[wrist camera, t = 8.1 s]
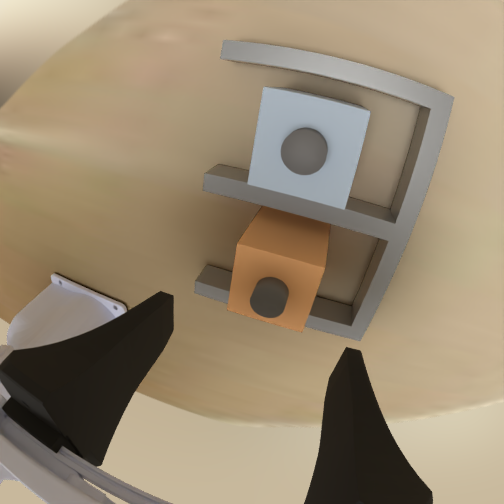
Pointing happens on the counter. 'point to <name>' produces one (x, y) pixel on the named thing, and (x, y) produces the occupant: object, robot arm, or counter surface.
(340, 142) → the seated plug
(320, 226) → the orange plug
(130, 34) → the counter surface
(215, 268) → the e-shaped shelf rack
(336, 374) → the robot arm
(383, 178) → the counter surface
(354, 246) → the counter surface
